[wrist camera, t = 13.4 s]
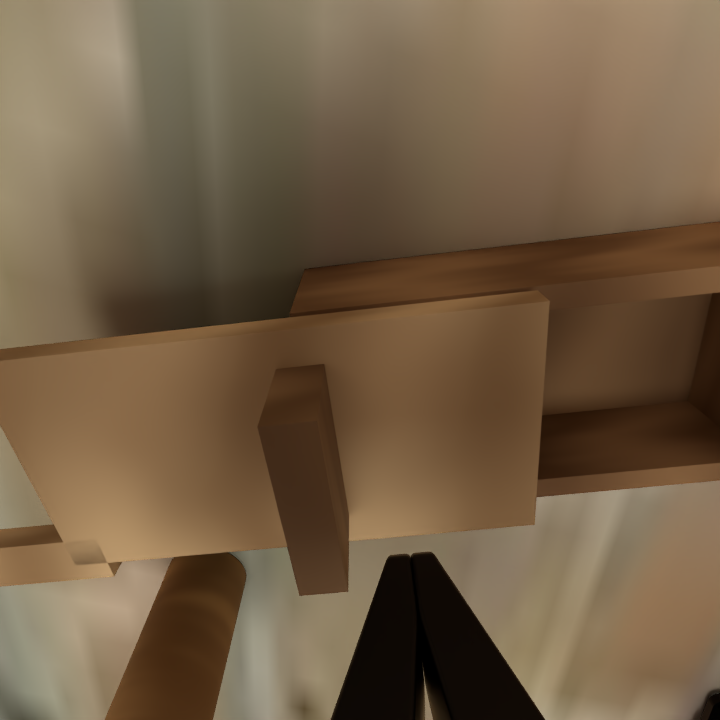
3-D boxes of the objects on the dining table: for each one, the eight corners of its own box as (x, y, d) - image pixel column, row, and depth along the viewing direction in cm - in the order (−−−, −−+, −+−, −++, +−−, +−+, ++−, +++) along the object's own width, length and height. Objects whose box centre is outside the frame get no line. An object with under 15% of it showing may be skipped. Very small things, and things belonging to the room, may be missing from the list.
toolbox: (731, 220, 15) (853, 251, 12) (676, 462, 20) (752, 542, 16) (77, 294, 16) (-7, 345, 13) (162, 511, 21) (119, 597, 17)
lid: (538, 290, 12) (599, 346, 9) (524, 519, 15) (566, 615, 12) (-114, 361, 12) (-261, 436, 9) (13, 565, 16) (-66, 667, 13)
